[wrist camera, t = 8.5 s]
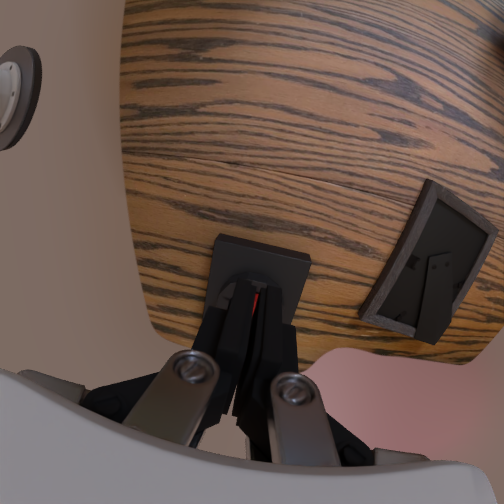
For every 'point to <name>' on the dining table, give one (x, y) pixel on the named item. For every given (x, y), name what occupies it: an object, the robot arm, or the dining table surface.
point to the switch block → (255, 272)
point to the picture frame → (430, 266)
